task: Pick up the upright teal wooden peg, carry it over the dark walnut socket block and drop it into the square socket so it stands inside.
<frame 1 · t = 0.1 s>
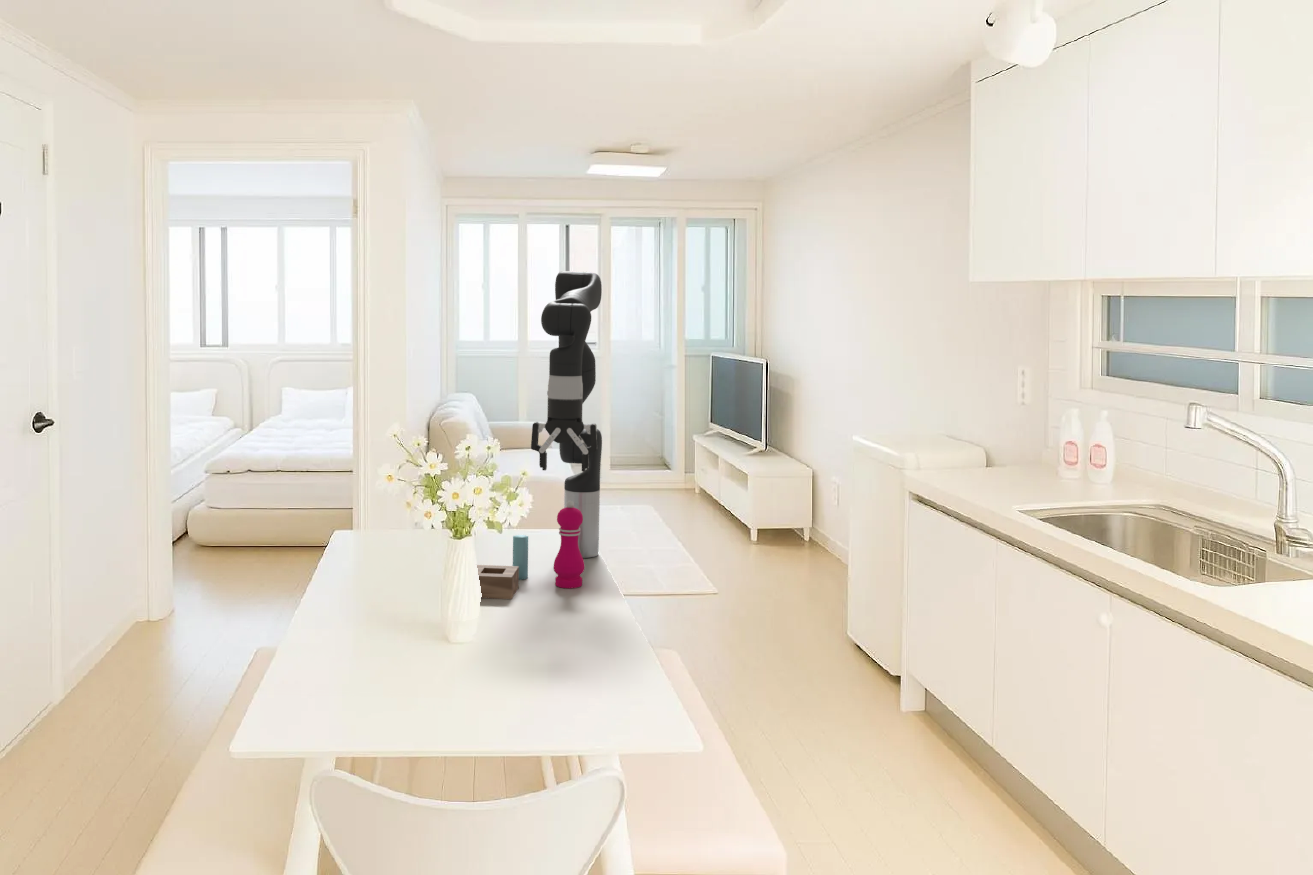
hand: (563, 470, 239), 29 cm above the table, fingers open, 8 cm apart
pepper mill: (568, 585, 256), on the table
socket block: (493, 592, 248), on the table
peg: (520, 577, 261), on the table
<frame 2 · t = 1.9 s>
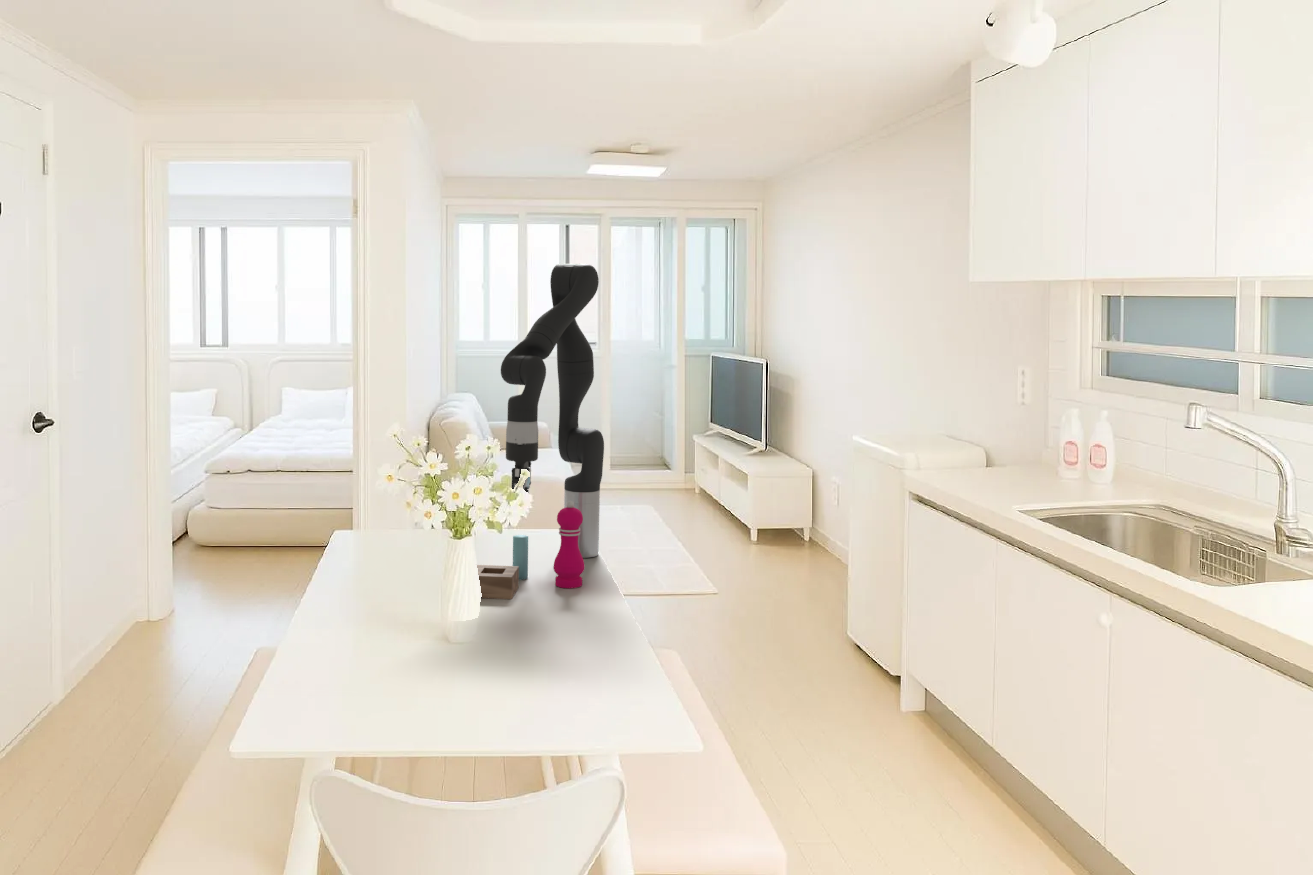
hand: (520, 508, 259), 17 cm above the table, fingers open, 8 cm apart
nothing on the table moved.
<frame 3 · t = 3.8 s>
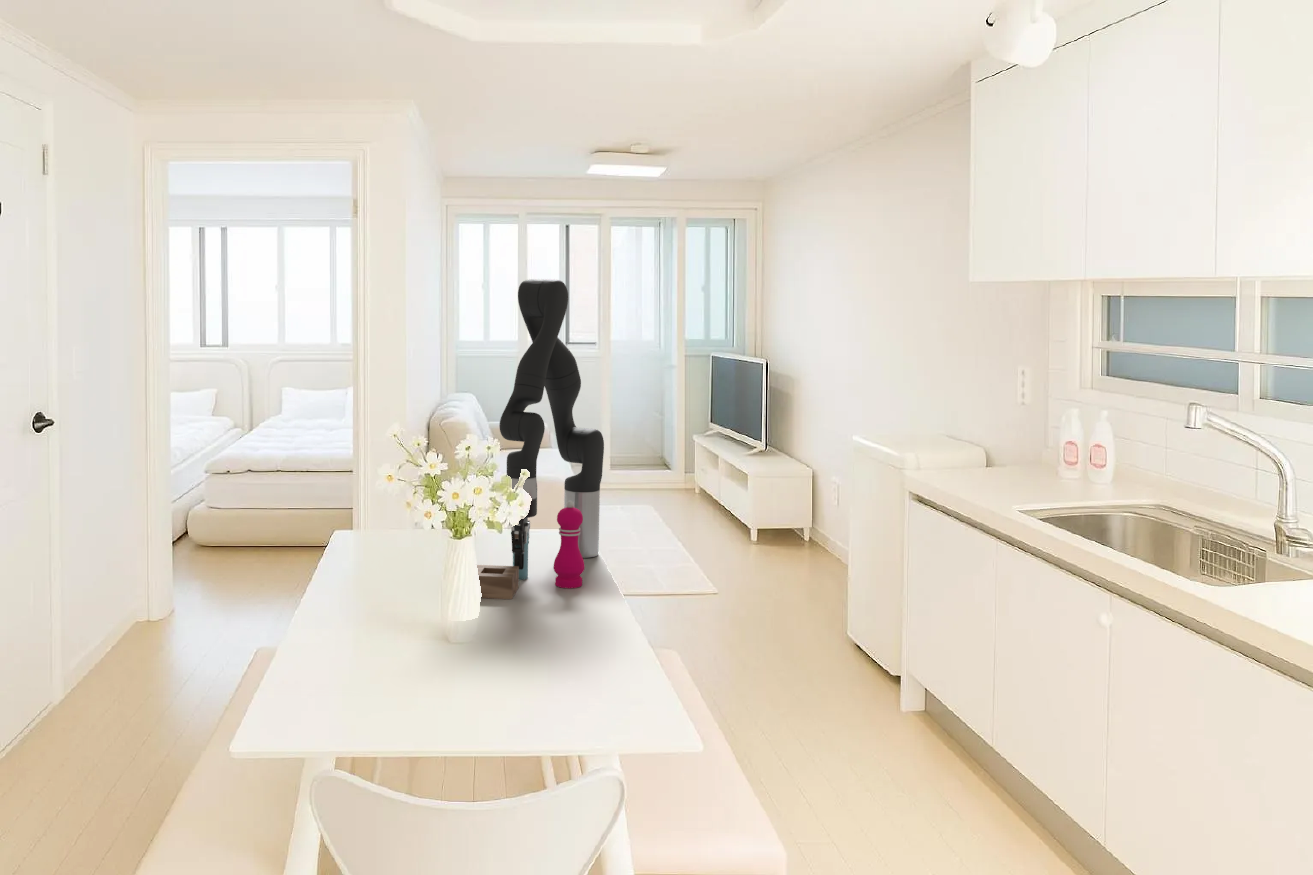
hand: (520, 566, 261), 3 cm above the table, fingers closed on peg, 3 cm apart
peg: (520, 577, 261), on the table, touching gripper
everything else where it was.
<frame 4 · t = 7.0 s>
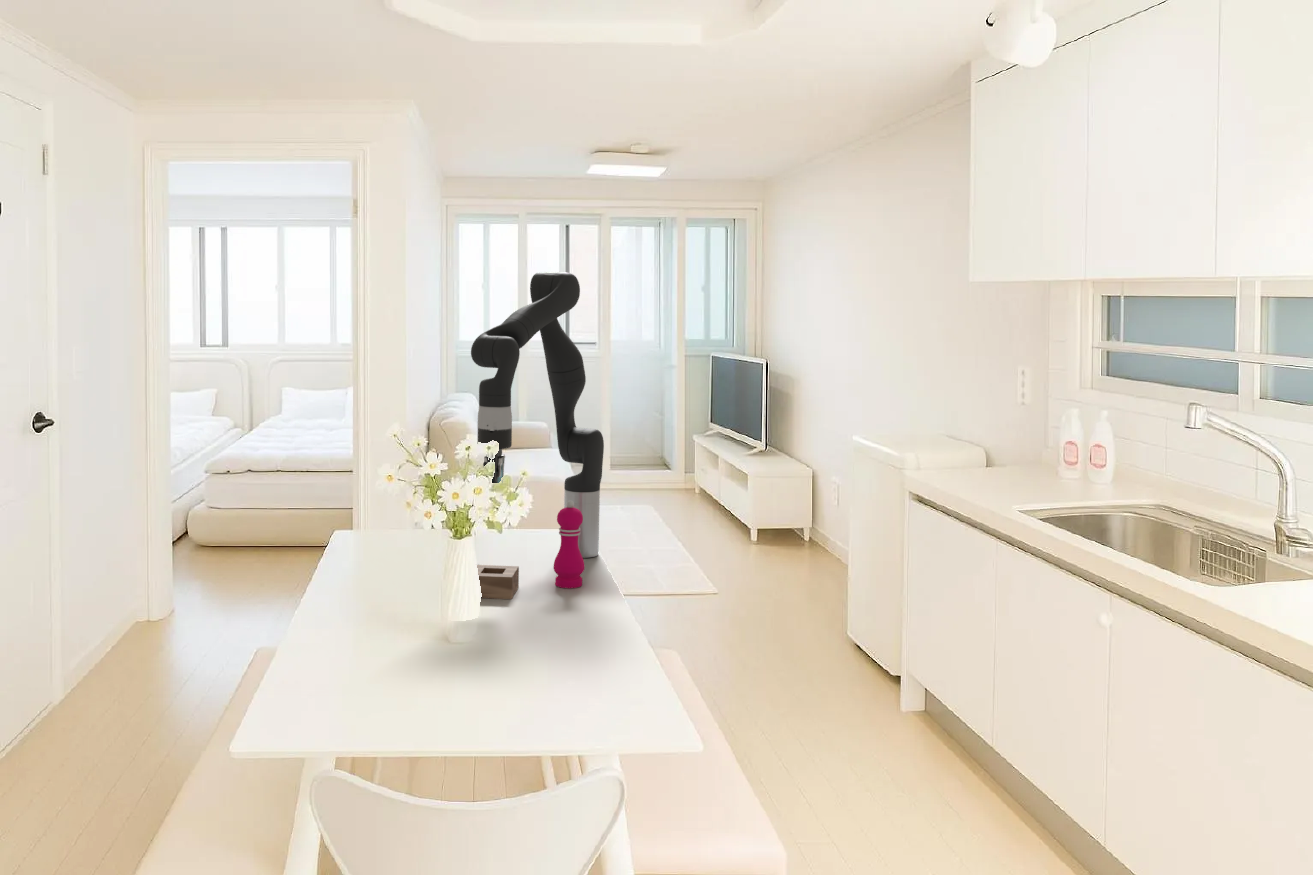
hand: (494, 502, 245), 21 cm above the table, fingers closed on peg, 3 cm apart
peg: (493, 514, 245), point 18 cm above the table, touching gripper
everything else where it was.
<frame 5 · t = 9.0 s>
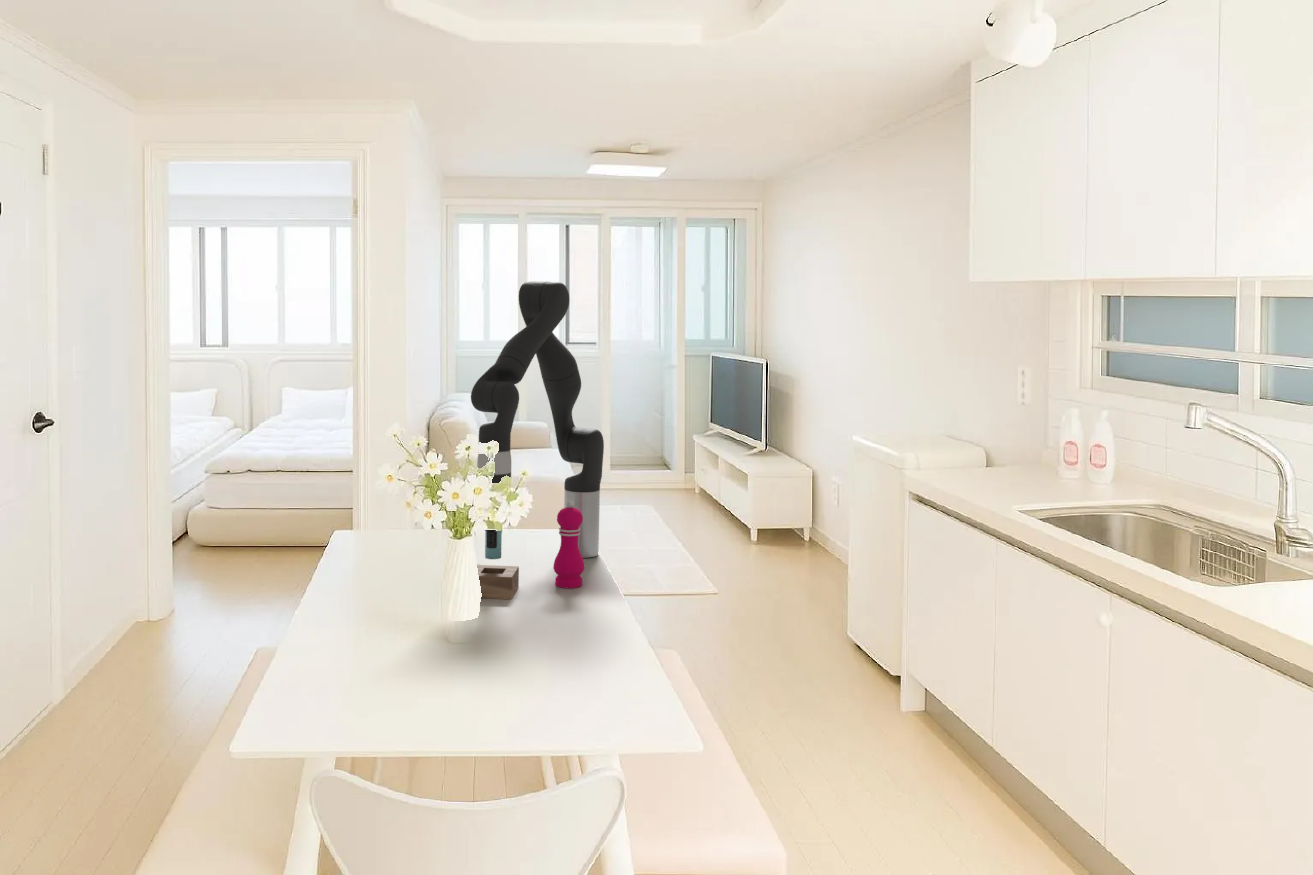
hand: (493, 545, 246), 11 cm above the table, fingers closed on peg, 3 cm apart
peg: (493, 557, 247), point 8 cm above the table, touching gripper
everything else where it was.
when the fingers open (6 cm above the table, at t = 10.6 s): peg drops 2 cm, resting on socket block.
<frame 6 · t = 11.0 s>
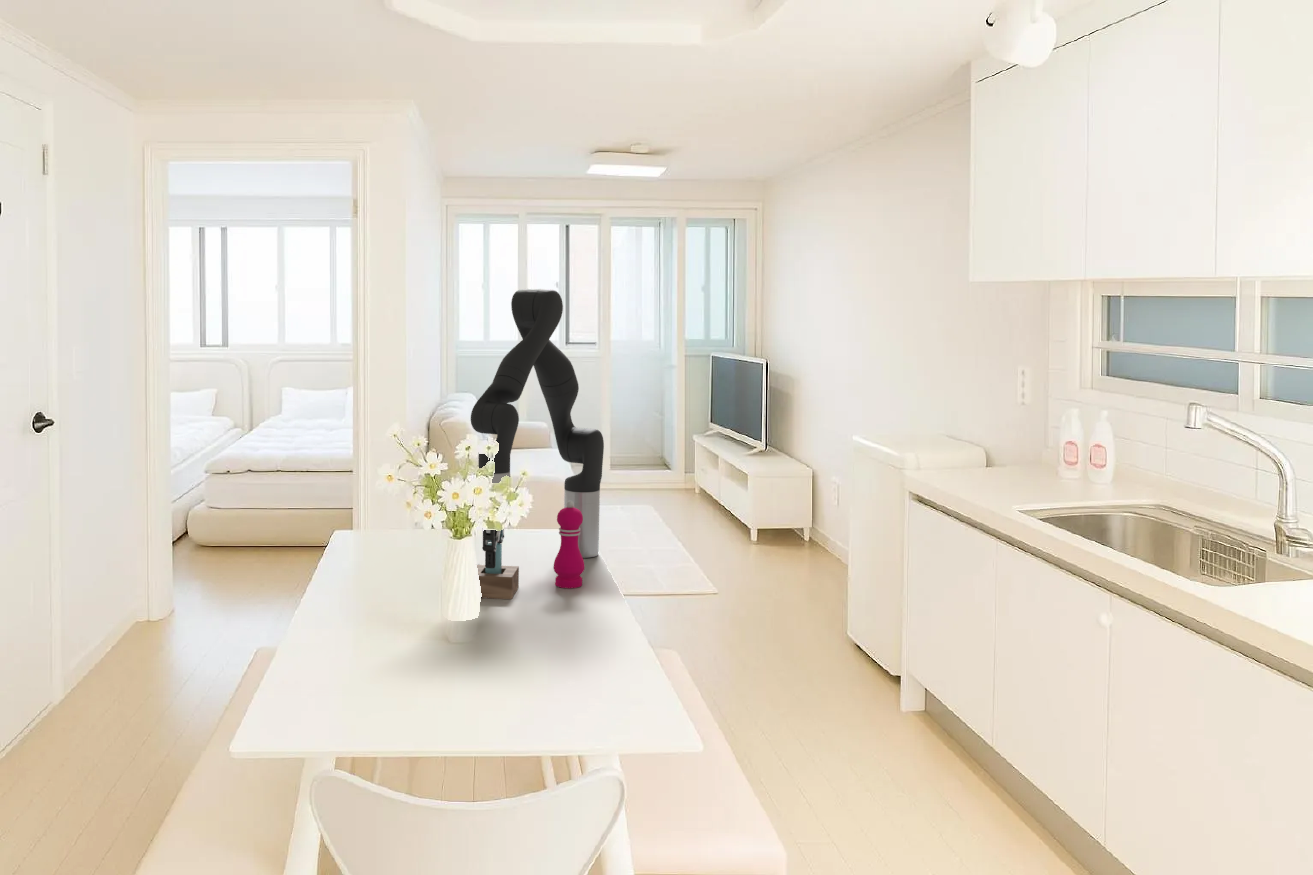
hand: (493, 563, 247), 7 cm above the table, fingers open, 7 cm apart
peg: (493, 587, 248), point 1 cm above the table, touching socket block
everything else where it was.
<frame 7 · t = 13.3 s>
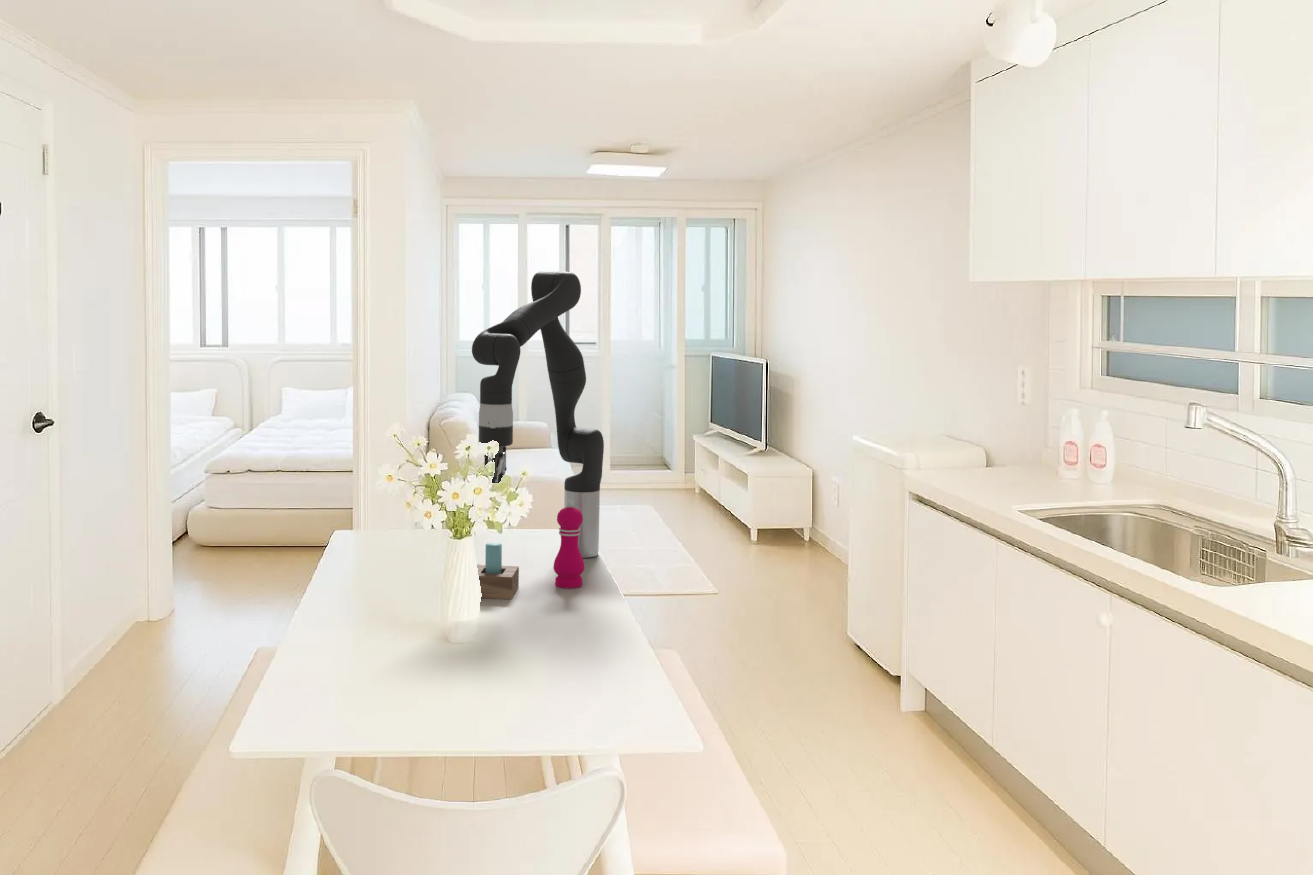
hand: (495, 495, 245), 22 cm above the table, fingers open, 8 cm apart
nothing on the table moved.
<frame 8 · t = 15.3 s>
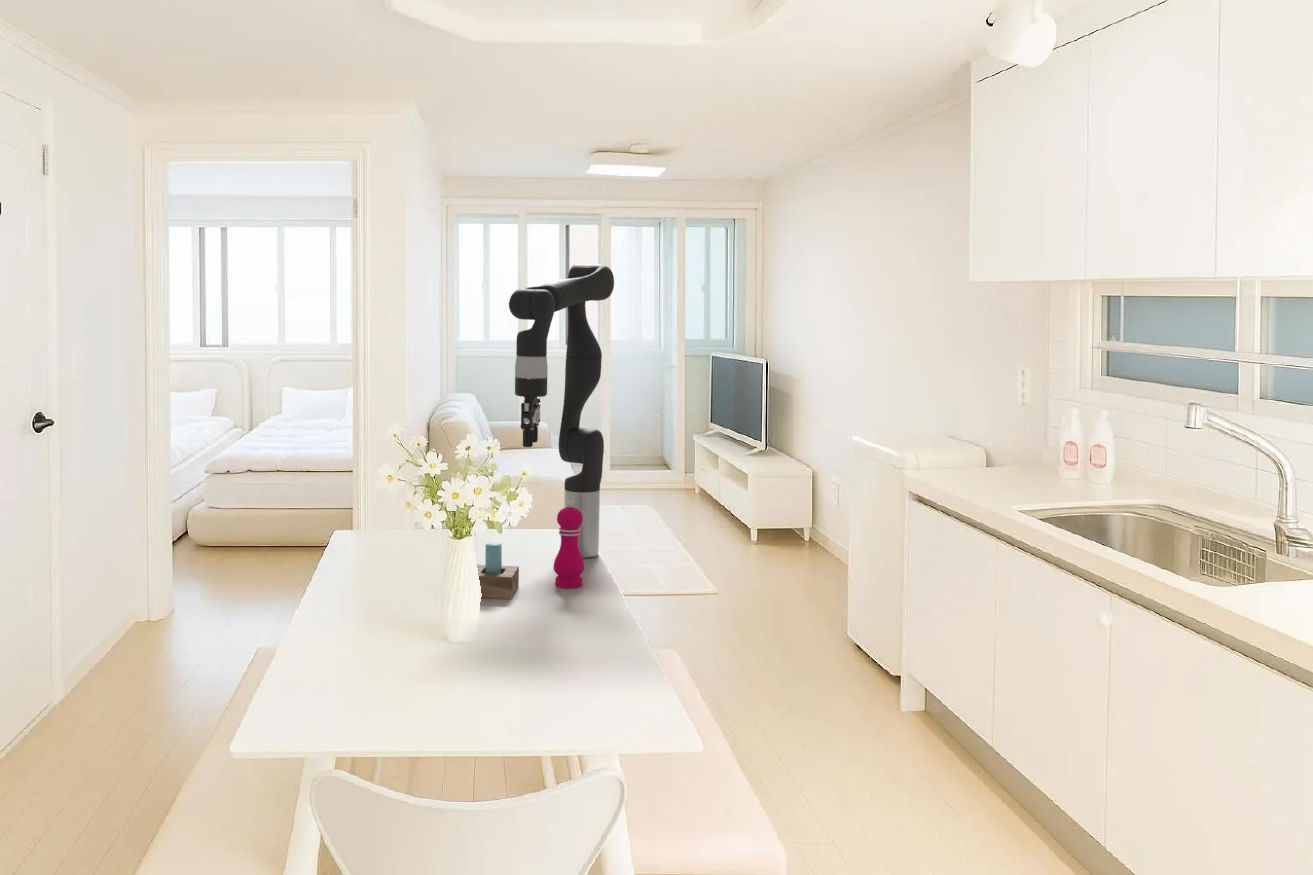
hand: (530, 444, 257), 32 cm above the table, fingers open, 8 cm apart
nothing on the table moved.
at the end: peg 0.2 cm off-centre on the socket block, point 1.0 cm above the socket block's base; peg tilted 0°; the gripper is holding nothing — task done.
